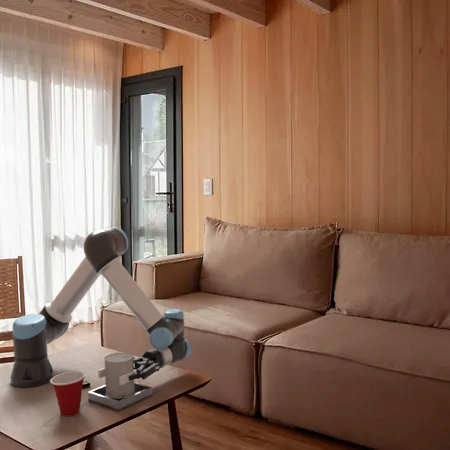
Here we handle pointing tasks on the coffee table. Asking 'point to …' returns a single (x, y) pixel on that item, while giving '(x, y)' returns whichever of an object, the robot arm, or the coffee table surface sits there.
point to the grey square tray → (121, 403)
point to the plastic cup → (68, 391)
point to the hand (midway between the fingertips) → (109, 377)
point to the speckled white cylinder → (118, 375)
